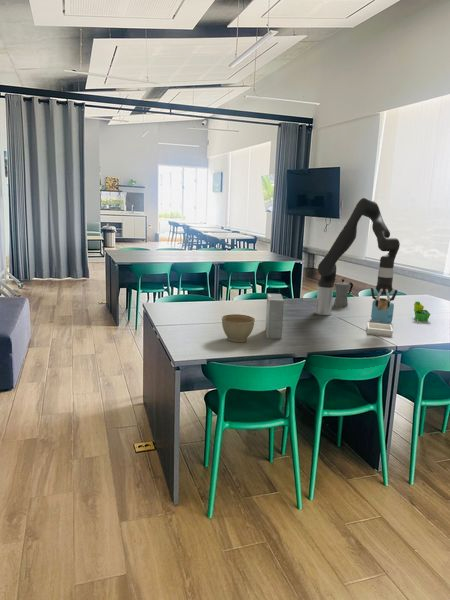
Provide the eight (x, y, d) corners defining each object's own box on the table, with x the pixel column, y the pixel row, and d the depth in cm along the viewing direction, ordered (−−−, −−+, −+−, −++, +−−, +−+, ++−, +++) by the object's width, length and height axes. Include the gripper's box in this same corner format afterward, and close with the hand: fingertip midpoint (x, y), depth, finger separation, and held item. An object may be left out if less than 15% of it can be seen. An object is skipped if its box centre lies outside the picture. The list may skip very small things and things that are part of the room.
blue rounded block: (392, 323, 267) (394, 303, 265) (387, 324, 265) (389, 303, 262) (375, 318, 277) (377, 299, 275) (370, 319, 275) (372, 299, 272)
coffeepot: (337, 307, 302) (339, 280, 298) (328, 304, 310) (330, 278, 307) (355, 306, 309) (358, 279, 305) (346, 303, 317) (348, 277, 313)
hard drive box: (265, 329, 244) (267, 293, 240) (279, 330, 244) (281, 293, 239) (266, 338, 229) (269, 299, 224) (282, 339, 228) (284, 300, 224)
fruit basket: (429, 322, 272) (432, 304, 269) (414, 321, 274) (416, 302, 271) (425, 317, 283) (428, 300, 280) (410, 316, 284) (412, 299, 282)
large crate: (367, 333, 243) (367, 328, 242) (366, 327, 256) (367, 322, 255) (392, 336, 240) (392, 331, 239) (390, 329, 252) (391, 324, 252)
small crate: (377, 309, 242) (378, 300, 241) (377, 306, 249) (378, 297, 248) (386, 310, 241) (387, 301, 240) (386, 307, 248) (387, 298, 247)
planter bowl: (229, 346, 215) (230, 323, 212) (216, 336, 229) (216, 315, 227) (259, 342, 221) (260, 321, 219) (244, 333, 235) (245, 313, 233)
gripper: (399, 275, 243) (395, 307, 246) (371, 273, 247) (368, 304, 250) (400, 278, 236) (396, 310, 239) (371, 275, 240) (368, 307, 243)
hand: (382, 307), depth 245 cm, fingers closed on small crate, 4 cm apart
